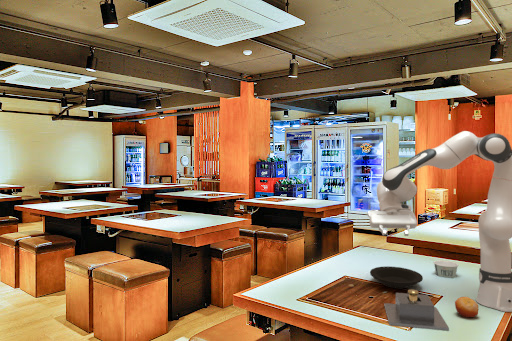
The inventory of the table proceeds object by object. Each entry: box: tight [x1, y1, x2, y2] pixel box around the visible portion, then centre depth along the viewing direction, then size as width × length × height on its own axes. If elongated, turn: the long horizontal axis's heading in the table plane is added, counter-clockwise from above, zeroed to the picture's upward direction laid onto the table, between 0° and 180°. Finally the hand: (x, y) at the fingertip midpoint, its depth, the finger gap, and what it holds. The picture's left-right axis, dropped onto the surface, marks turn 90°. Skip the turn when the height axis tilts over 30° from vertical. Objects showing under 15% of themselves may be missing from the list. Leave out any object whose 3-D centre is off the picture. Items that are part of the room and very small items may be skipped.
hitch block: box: [383, 292, 450, 332], centre depth 145 cm, size 20×20×7 cm
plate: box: [369, 266, 424, 290], centre depth 184 cm, size 28×24×6 cm
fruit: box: [454, 296, 479, 318], centre depth 147 cm, size 8×8×8 cm
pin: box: [407, 289, 420, 301], centre depth 146 cm, size 4×4×9 cm
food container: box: [432, 260, 459, 279], centre depth 201 cm, size 12×12×6 cm
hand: (395, 235), depth 164 cm, fingers open, 8 cm apart
